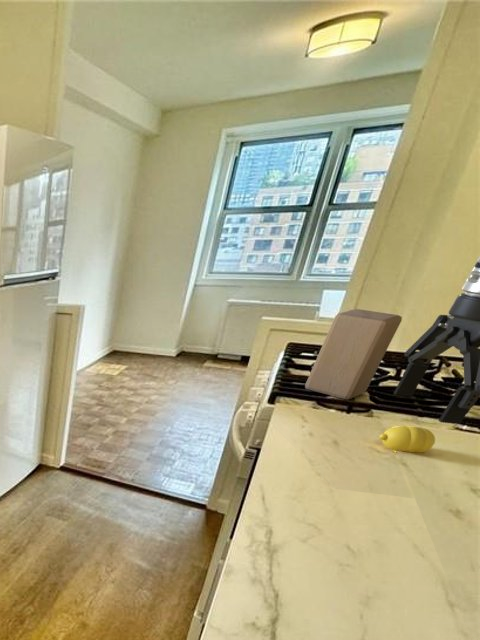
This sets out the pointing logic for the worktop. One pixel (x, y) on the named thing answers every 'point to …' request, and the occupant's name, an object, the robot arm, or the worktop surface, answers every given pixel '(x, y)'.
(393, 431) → the lemon
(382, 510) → the worktop surface
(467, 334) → the robot arm
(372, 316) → the block
